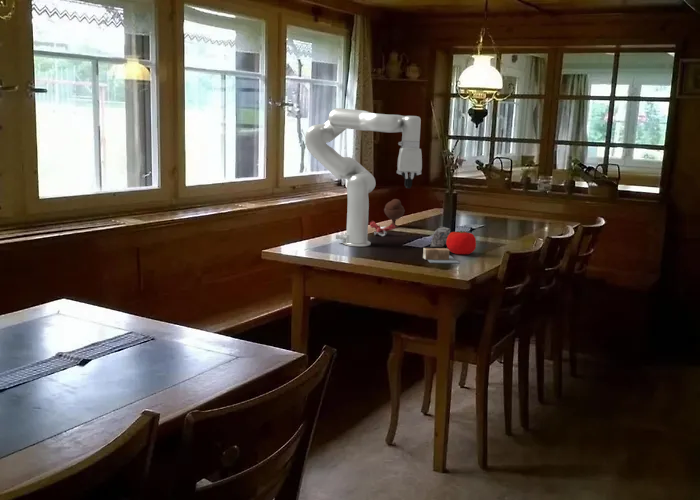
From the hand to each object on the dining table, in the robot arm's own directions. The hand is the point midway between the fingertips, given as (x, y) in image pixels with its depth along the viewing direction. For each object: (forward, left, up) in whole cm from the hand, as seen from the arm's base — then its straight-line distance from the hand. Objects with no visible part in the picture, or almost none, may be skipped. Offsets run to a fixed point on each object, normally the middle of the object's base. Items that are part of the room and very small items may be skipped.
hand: (408, 187), depth 319 cm
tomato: (+23, -8, -27) cm, 37 cm away
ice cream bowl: (+6, +59, -27) cm, 65 cm away
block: (+4, -21, -25) cm, 33 cm away
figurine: (-5, +35, -27) cm, 45 cm away
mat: (+11, -21, -27) cm, 36 cm away
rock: (+18, +10, -27) cm, 34 cm away
